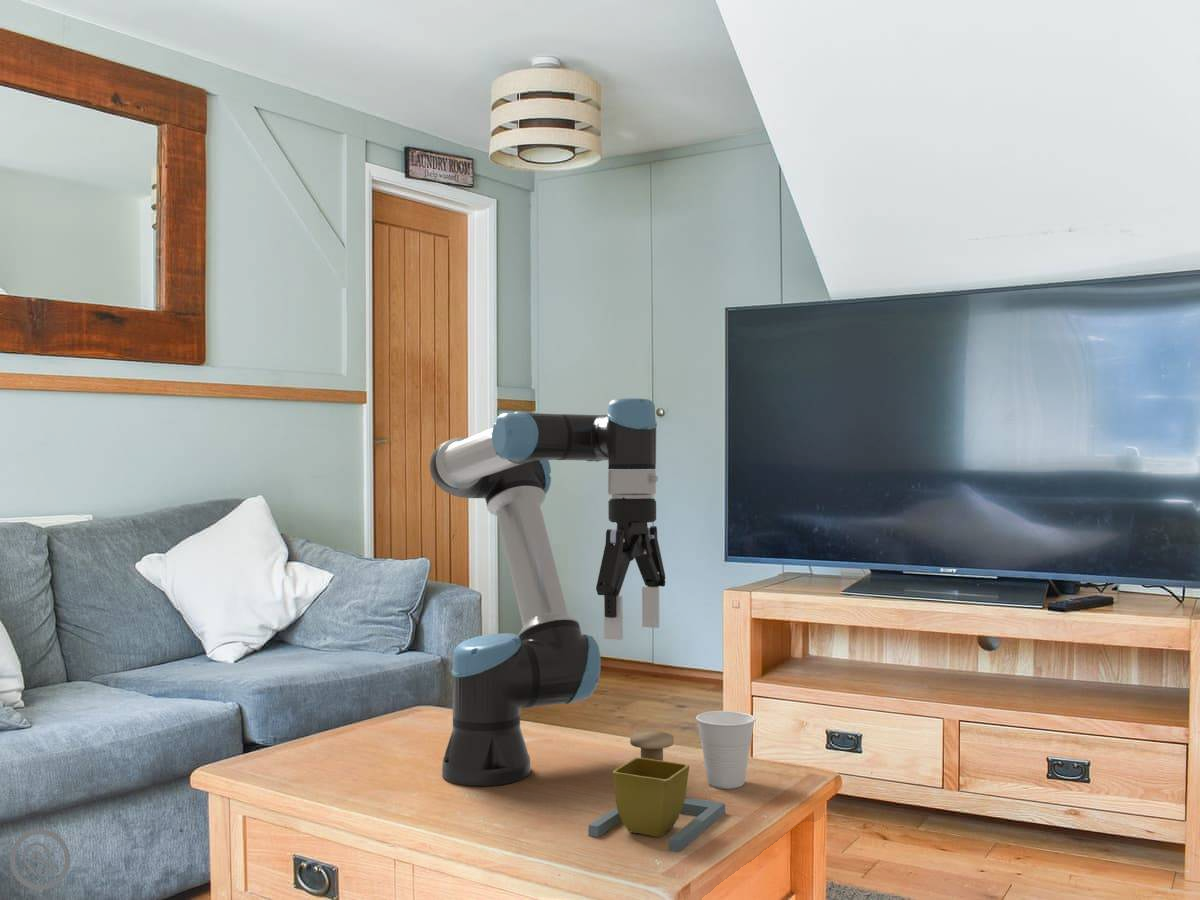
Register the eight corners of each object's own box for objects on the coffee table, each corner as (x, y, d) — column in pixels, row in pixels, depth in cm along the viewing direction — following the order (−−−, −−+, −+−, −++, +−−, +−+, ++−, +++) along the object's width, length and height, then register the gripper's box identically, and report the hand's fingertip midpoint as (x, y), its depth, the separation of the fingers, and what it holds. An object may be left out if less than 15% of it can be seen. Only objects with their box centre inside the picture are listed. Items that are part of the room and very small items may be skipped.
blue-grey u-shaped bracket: (679, 851, 138) (679, 840, 138) (588, 835, 144) (588, 824, 145) (725, 812, 154) (725, 803, 154) (641, 799, 160) (641, 790, 161)
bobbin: (623, 795, 163) (622, 739, 163) (641, 784, 169) (641, 729, 169) (663, 802, 159) (662, 744, 160) (680, 789, 166) (680, 734, 166)
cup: (754, 794, 163) (754, 725, 163) (693, 791, 165) (692, 723, 165) (757, 777, 173) (757, 712, 173) (699, 773, 175) (699, 709, 175)
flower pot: (690, 825, 149) (690, 763, 149) (668, 844, 141) (667, 779, 141) (636, 816, 153) (636, 756, 153) (611, 835, 145) (610, 771, 145)
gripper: (618, 498, 146) (619, 646, 146) (684, 495, 169) (685, 624, 168) (573, 498, 150) (573, 642, 149) (643, 495, 172) (644, 621, 171)
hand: (632, 633), depth 159 cm, fingers open, 13 cm apart
